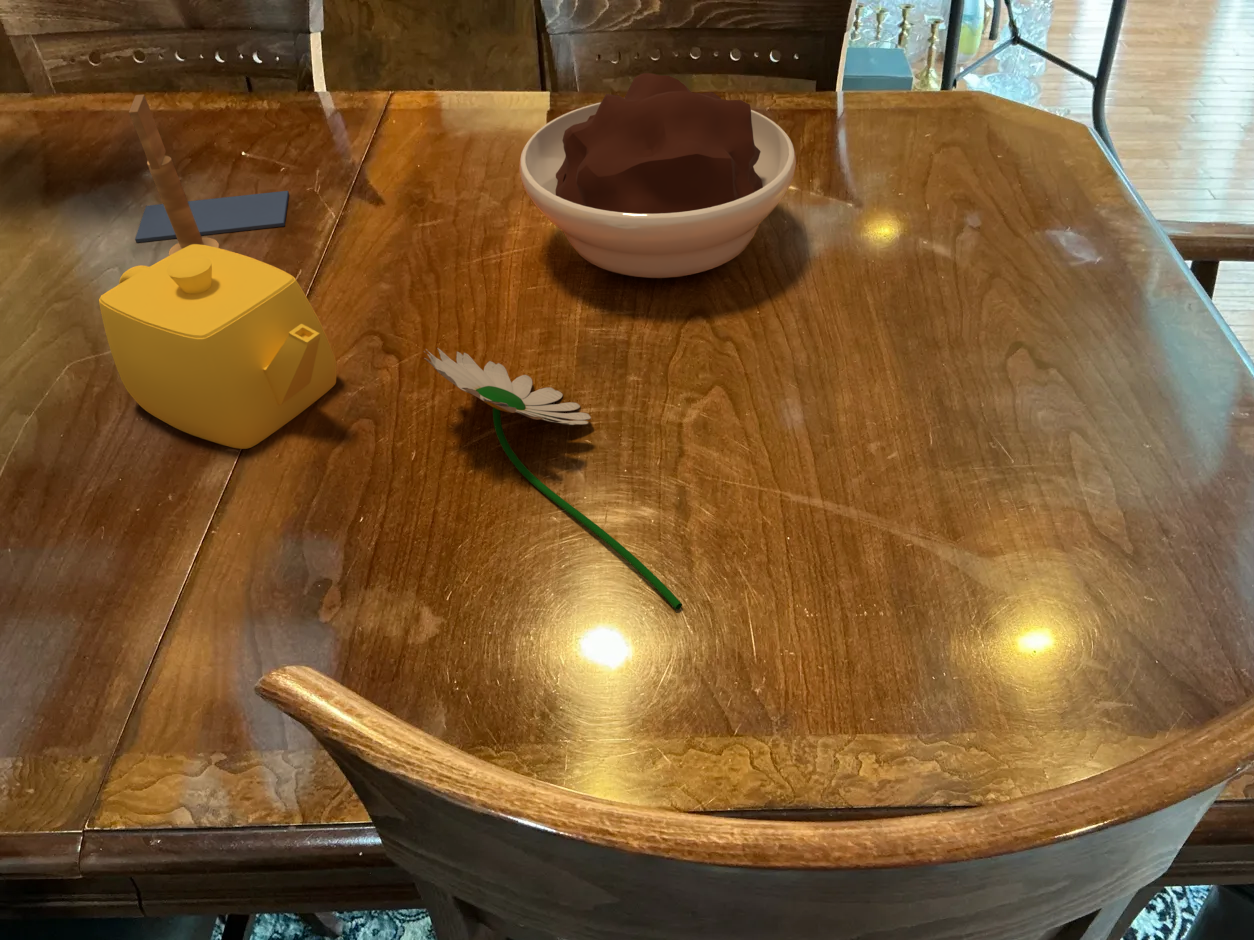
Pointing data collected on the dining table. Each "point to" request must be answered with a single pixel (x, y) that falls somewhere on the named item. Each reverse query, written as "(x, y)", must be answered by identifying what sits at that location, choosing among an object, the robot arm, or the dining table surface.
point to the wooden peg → (166, 179)
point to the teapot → (217, 344)
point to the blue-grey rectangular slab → (219, 215)
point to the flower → (518, 398)
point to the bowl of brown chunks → (658, 177)
